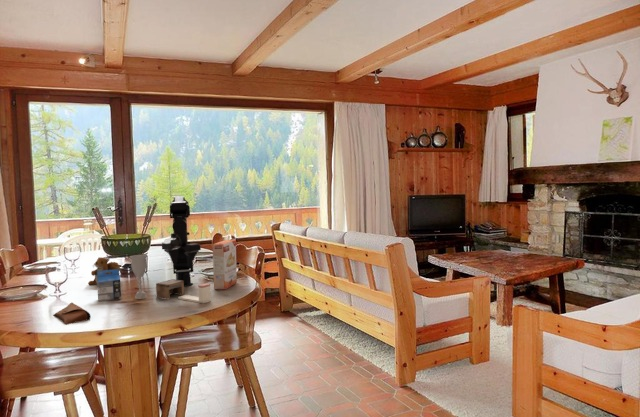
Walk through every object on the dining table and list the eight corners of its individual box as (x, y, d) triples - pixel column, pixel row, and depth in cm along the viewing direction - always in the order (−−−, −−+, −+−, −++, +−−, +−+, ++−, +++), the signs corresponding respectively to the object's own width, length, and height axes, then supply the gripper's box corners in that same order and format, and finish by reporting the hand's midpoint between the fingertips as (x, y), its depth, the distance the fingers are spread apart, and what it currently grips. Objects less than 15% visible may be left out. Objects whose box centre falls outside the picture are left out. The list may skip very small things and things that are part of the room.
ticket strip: (178, 298, 190) (177, 282, 189) (185, 296, 193) (185, 280, 193) (203, 303, 182) (202, 286, 181) (210, 301, 185) (210, 284, 185)
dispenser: (156, 297, 194) (155, 283, 193) (173, 292, 201) (172, 279, 201) (167, 299, 190) (166, 285, 190) (184, 294, 197) (183, 280, 197)
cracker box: (225, 290, 203) (223, 244, 202) (213, 289, 204) (211, 243, 203) (238, 282, 217) (236, 239, 215) (226, 282, 218) (224, 239, 217)
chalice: (153, 295, 196) (150, 254, 195) (142, 300, 190) (139, 257, 188) (139, 294, 198) (137, 254, 197) (128, 299, 192) (125, 257, 191)
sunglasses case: (50, 314, 171) (59, 298, 173) (68, 320, 176) (77, 304, 178) (65, 324, 159) (75, 306, 161) (84, 330, 163) (93, 312, 165)
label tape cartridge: (98, 301, 189) (96, 272, 188) (98, 299, 192) (96, 271, 192) (121, 298, 193) (119, 270, 192) (120, 296, 196) (119, 268, 196)
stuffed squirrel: (86, 285, 220) (84, 258, 219) (109, 279, 233) (108, 254, 232) (101, 286, 216) (99, 259, 215) (124, 280, 229) (122, 254, 228)
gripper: (150, 231, 193) (152, 267, 194) (179, 233, 183) (181, 271, 184) (171, 229, 203) (173, 263, 204) (200, 230, 193) (202, 266, 194)
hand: (182, 266), depth 196 cm, fingers open, 9 cm apart
